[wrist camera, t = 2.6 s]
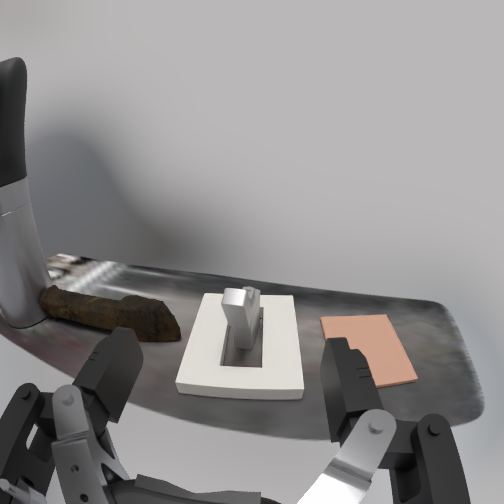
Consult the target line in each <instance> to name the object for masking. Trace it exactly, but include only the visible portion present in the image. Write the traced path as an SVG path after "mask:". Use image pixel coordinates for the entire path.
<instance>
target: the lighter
mask: <svg viewBox="0 0 504 504" xmlns="http://www.w3.org/2000/svg"><path fill="white" fill-rule="evenodd" d="M221 306H222V309H223V311H224V314H225V316H226V319H227V322H228V324H229V326H231V327H234V340H235V347H236V348H241V349H247V350H251V349H253V346H254V342H255V338H256V335H257V331H258V328H259V323H260V290H257V289H255V288H251V287H250V286H249V287H243V289H242V290H241V289H232V288H226V289H225V290H224V294H223V298H222V302H221Z"/></svg>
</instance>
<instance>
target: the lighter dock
mask: <svg viewBox="0 0 504 504" xmlns="http://www.w3.org/2000/svg"><path fill="white" fill-rule="evenodd" d="M222 298H223V294H210V293H205V294H204V297H203V300H202V303H201V306H200V309H199V312H198V314H197V317H196V320H195V323H194V326H193V329H192V332H191V335H190V338H189V341H188V344H187V347H186V350H185V354H184V357H183V360H182V363H181V366H180V369H179V372H178V375H177V379H176V382H175V383H176V386H177V389H178V392H179V393H185V394H193V395H201V396H211V397H223V398H238V399H264V400H292V399H302V396H303V391H304V383H303V374H302V365H301V357H300V348H299V340H298V332H297V324H296V317H295V309H294V302H293V296H274V295H260V318H263V352H262V368H252V367H230V366H223V362H224V356H225V350H226V344H227V338H228V333H229V327H230V326H229V324H228V322H227V319H226V316H225V314H224V311H223V309H222V306H221V302H222Z"/></svg>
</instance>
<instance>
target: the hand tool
mask: <svg viewBox="0 0 504 504" xmlns="http://www.w3.org/2000/svg"><path fill="white" fill-rule="evenodd" d="M40 305H41V308H42V310H44V312H45V314H46V315H47V316H48V317H49V318H50V317H53V316H54V318H55V319H57V320H58V319H59V318H64V319H67V320H72V321H76V322H79V323H82V324H83V325H90V326H94V327H99V328H103V329H107V330H112V331H113V330H114V329H115V328H116V327H122V328H130V329H133V330H134V331H135V333H136V336H137V339H138V341H145V342H160V341H173V340H179V339H181V333H180V327H179V326H178V323H177V321H176V319H175V317H174V315H173V314H172V313H171V312H170V310H169V309H168V307H167V306H166V305H165V304H164V302H163V301H159V300H156V299H148V298H145V297H141V296H137V295H130V296H126V297H124V298H123V299H122V300H120V301H119V300H112V299H106V298H101V297H96V296H90V295H84V294H80V293H75V292H70V291H66V290H61V289H59V288H58V287H57V286H56V285H52V286H51V287H48V288H47V289H45V290H44V292H43V295H42V297H41V300H40Z"/></svg>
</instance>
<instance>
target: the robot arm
mask: <svg viewBox="0 0 504 504" xmlns="http://www.w3.org/2000/svg"><path fill="white" fill-rule="evenodd" d="M26 90H27V70H26V65H25V63H24V61H23V60H22V59H21V58H19V57H15V58H11V59H8V60H5V61H2V62H0V307H1V309H2V311H3V314H4V315H5V317H6V319H7V321H8V323H9V324H10V325H11V326H13V327H18V328H22V327H27V326H31V325H33V324H36V323H38V322H39V321H41V320H43V319H44V318H45V317H47V315H46V314H45V312H44V310H42V308H41V305H40V300H41V297H42V295H43V292H44V290H45V289H47V288H48V287H51V286H52V285H53V284H52V281H51V278H50V275H49V272H48V269H47V266H46V262H45V259H44V256H43V252H42V249H41V245H40V241H39V237H38V234H37V229H36V225H35V221H34V215H33V210H32V205H31V200H30V195H29V188H28V181H27V177H26V176H27V173H26V163H25V145H24V144H25V143H24V117H25V104H26ZM142 365H143V354H142V351H141V348H140V345H139V342H138V339H137V336H136V333H135V331H134V330H133V329H130V328H122V327H116V328H115V329H114V330H113V332H112V333H111V335H110V337H105V338H104V339H103V340H102V341H100V342H99V343H98V344H97V345H96V347H95V348H94V350H93V353H91V355H90V356H89V358H88V360H87V361H86V362H85V364H84V366H83V367H82V369H81V370H80V372H79V374H78V375H77V377H76V379H75V380H74V382H73V383H72V385H64V386H61V387H60V388H58V389H57V390H56V391H55V393H47V392H40V391H39V390H38V388H37V387H36V385H34V384H32V383H26V384H23V385H21V386H20V387H19V388H18V389H17V390H16V392H15V394H14V395H13V397H12V399H11V401H10V402H9V404H8V406H7V408H6V410H5V411H4V413H3V415H2V417H1V419H0V504H47V502H46V499H45V496H46V493H47V490H48V487H49V484H50V481H51V477H52V474H53V472H54V469H55V466H56V470H57V474H58V478H59V482H60V486H61V489H62V493H63V495H64V499H65V502H66V504H281V503H278V502H276V501H274V500H271V499H267V498H263V497H261V492H240V491H221V492H211V493H198V494H197V493H192V492H190V491H187V490H185V489H182V488H180V487H178V486H175V485H173V484H171V483H169V482H166V481H163V480H159V479H154V478H151V477H147V476H143V475H140V474H138V475H137V478H136V479H133V480H130V478H129V476H128V474H127V473H126V471H125V470H124V468H123V467H122V465H121V463H120V461H119V459H118V457H117V454H116V451H115V449H114V446H113V443H112V440H111V438H110V435H109V432H108V429H107V427H106V424H107V422H108V421H111V422H114V423H118V421H119V418H120V416H121V414H122V411H123V409H124V407H125V404H126V402H127V400H128V397H129V395H130V393H131V390H132V388H133V386H134V383H135V381H136V379H137V377H138V375H139V372H140V370H141V368H142ZM321 381H322V386H323V392H324V398H325V405H326V411H327V417H328V424H329V431H330V438H331V442H340V450H339V451H338V453H337V454H336V456H335V457H334V459H333V460H332V461H331V463H330V464H329V465H328V467H327V468H326V469H325V470H324V472H323V473H322V474H321V476H320V477H319V478H318V480H317V481H316V482H315V483H314V485H313V486H312V487H311V488H310V489H309V491H308V492H307V493H306V494H305V495H304V497H303V498H302V499H301V500H300V501H299V502H298V503H297V504H359V503H360V501H361V500H362V498H363V497H364V495H365V494H366V492H367V490H368V489H369V487H370V485H371V478H372V476H373V474H374V473H375V471H376V469H377V468H379V469H389V472H390V480H391V486H392V495H393V503H394V504H471V503H470V497H469V493H468V488H467V483H466V479H465V475H464V471H463V467H462V464H461V460H460V456H459V453H458V450H457V447H456V443H455V440H454V437H453V434H452V431H451V428H450V425H449V423H448V421H447V420H446V419H445V418H444V417H443V416H441V415H438V414H429V415H426V416H424V417H423V418H422V419H421V420H420V421H419V422H413V421H401V420H397V419H394V417H393V416H392V415H391V414H390V413H388V412H386V411H385V410H384V408H383V406H382V403H381V400H380V397H379V394H378V391H377V388H376V385H375V382H374V379H373V378H372V373H371V370H370V369H369V364H368V362H367V359H366V357H365V356H364V355H363V354H362V352H361V351H360V350H359V349H350V347H349V344H348V341H347V338H346V337H335V338H327V340H326V344H325V348H324V353H323V357H322V362H321ZM34 424H35V425H36V426H37V427H38V429H37V432H36V434H35V436H34V438H33V440H32V443H31V445H30V447H29V449H27V447H26V441H27V438H28V436H29V434H30V431H31V430H32V427H33V425H34Z"/></svg>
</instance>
